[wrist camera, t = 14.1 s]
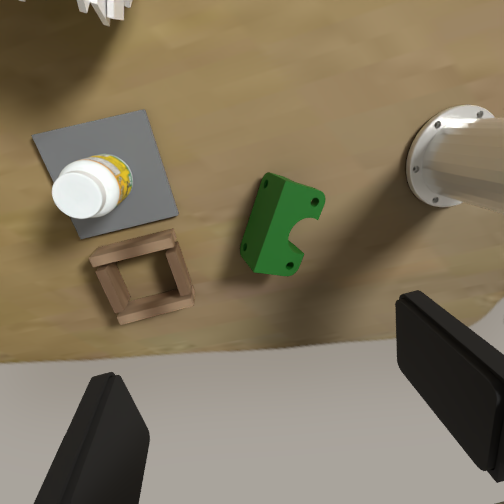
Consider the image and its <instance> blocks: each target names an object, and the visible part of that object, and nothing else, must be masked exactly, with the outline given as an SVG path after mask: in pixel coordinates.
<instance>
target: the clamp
mask: <svg viewBox="0 0 504 504" xmlns="http://www.w3.org/2000/svg"><path fill="white" fill-rule="evenodd" d="M311 200H312V201H311ZM324 204H325V195H324V193H323V192H321V191H319V190H317V189H315V188H313V187H309V186H306V185H303V184H299V183H296V182H294V181H292V180H290V179H288V178H285V177H283V176H280V175H276V174H273V173H269V172H268V173H266V174H265V175H264V177H263V179H262V181H261V184H260V187H259V190H258V193H257V196H256V199H255V202H254V205H253V209H252V212H251V215H250V218H249V221H248V224H247V227H246V230H245V233H244V236H243V239H242V242H241V246H240V254H241V257H242V258H243V259H244V260H245V262H246V263H247V264H248V266H249V267H250V268H251V269H252V271H253V272H256V273H264V274H272V275H280V276H291V275H293V274H294V273H296V272H297V270H298V268H299V266H300V264H301V261H302V259H303V256H304V253H303V252H302V251H301V250H299V249H298V248H297V247H296V246H295V245H293V244H292V243H291V242H290V241H289V240H288V237H289V233H290V231H291V229H292V228H293V226H294V225H295V224H296V223H297V222H298V221H300V220H302V219H304V218H315V219H317V220H318V219H319V217H320V214H321V212H322V209H323V207H324Z"/></svg>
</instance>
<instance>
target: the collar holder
mask: <svg viewBox="0 0 504 504" xmlns="http://www.w3.org/2000/svg"><path fill="white" fill-rule="evenodd" d="M175 241H176V234H175V231H174V228H173V229H169V230H165V231H161V232H157V233H153V234H149V235H145V236H141V237H137V238H133V239H129V240H125V241H121V242H117V243H113V244H109V245H105V246H101V247H98V248H97V249H96V250H95V252H94V253H93V254H92V255H91V256H90V257H89V260H90V262H91V264H92V266H93V267H96V266H99V267H98V269H97V270H96V271H95V273H96V275H97V277H98V279H99V281H100V283H101V285H102V287H103V289H104V292H105V294H106V296H107V298H108V300H109V302H110V304H111V306H112V308H113V311H114V313H119V314H118V316H117V319H118V321H119V323H120V325H122V324H126V323H130V322H134V321H138V320H142V319H145V318H149V317H153V316H157V315H161V314H165V313H168V312H172V311H176V310H180V309H184V308H188V307H192V306H194V300H195V291H194V288H193V285H191V279H190V276H189V273H188V270H187V267H186V264H185V261H184V258H183V255H182V252H181V249H180V246H179V243H178V241H177V242H175ZM164 249H167V251H166V257H167V260H168V263H169V265H170V268H171V271H172V274H173V276H174V279H175V282H176V285H177V287H178V289H175V290H171V291H167V292H163V293H159V294H155V295H152V296H148V297H144V298H140V299H136V300H132V301H129V299H130V297H131V296H130V294H129V292H128V290H127V287H126V285H125V283H124V280H123V278H122V276H121V274H120V271H119V269H118V267H117V264H116V261H120V260H124V259H128V258H132V257H136V256H140V255H144V254H148V253H152V252H156V251H160V250H164Z"/></svg>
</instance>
